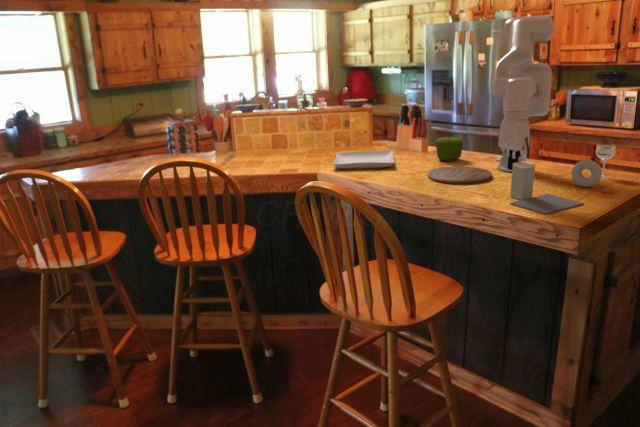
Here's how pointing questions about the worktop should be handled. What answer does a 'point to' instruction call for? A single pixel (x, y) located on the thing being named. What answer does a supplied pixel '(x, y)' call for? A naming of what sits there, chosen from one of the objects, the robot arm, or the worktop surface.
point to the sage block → (522, 180)
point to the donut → (589, 165)
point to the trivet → (459, 175)
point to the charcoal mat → (546, 204)
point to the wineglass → (605, 155)
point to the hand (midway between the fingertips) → (512, 169)
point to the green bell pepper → (449, 148)
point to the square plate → (364, 159)
